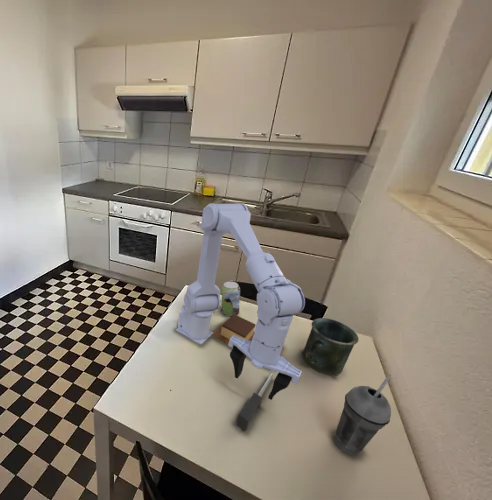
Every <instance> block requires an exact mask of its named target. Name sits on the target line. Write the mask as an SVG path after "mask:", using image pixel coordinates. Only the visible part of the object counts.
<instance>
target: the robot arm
mask: <svg viewBox="0 0 492 500" xmlns="http://www.w3.org/2000/svg"><path fill="white" fill-rule="evenodd" d="M251 215H252V213H251V212H250V211H249V208H248V206H247V205H246V204H245V203H244V202H243V203H242V202H239V203H214V202H213V203H212V202H211V203H208V204H207V205H206V206H205V207H204V208H203V209H202V217H201V224H200V230H201V231H203V233H202V241H201V249H200V255H199V262H198V263H199V264H198V270H197V277H196V280H195V281H194V282H192V283H191V284H189V285H188V286H187V288H186V292H185V294H184V297H183V306H182V307H181V309H180V311H179V315H178V323H177V328H175V330H176V331H177V332H179V333H181V334H182V335H184V336H185V337H187V338H188V339H190V340H192V341H194V342H195V343H197V344H199V345H202V344H203V343H205V342H206V340H208V339H209V338H210V337H212V336H211V335H212V334H213V333H214V331H212V330H211V329H210V327H211V322H212V317H213V314H215V312H216V311H217V310H219V309H220V307H221V305H222V298H221V289H220V287H219V286H218V285H217V284H216V278H217V273H218V266H219V261H220V253H221V247H222V241H223V236H224V235H226V234H229V235H231V236H232V237H233V239H234V241H235V242H236V243H237V245H238V246H239V248H240V250H241V251H242V253H243V254H244V256H245V257H246V262H245V264H244V267H245V269H246V271H247V273H248V275H249V277H250V279H251V280H252V283H253V284H254V287H255V289H256V290H257V294H256V304H257V311H256V314H257V315H256V316H257V320H256V325H255V329H254V335H253V338H252V341H248V340H245V339H242V338H239V337H236V336H234V335H233V336H232V337H231V338H230V340H229V344H228V345H227V346H228V347H229V348H231V351H230V352H229V358H230V359H231V361H232V366H233V370H234V378H235V379H239V377H241V375H242V372H243V369H244V365H245V361H246V358H248V359H249V360H250V361H251V365H252V366H253V367H254V368H257V369H258V370H261V369H267V370H271V371H274V372H277V375H276V376H275V377H274V380H273V384H272V388H271V390H270V392H269V394H268V397H267V399H268V400H270V401H272V400H273V399H274V397H275V395H277V394H278V393H279V392H281V391H283V390H286V389H287V388H288V387H289V385H290V384H291V382H292V383H294V384H295V385H298V382H299V380H300V378H301V375H302V373H303V371H302V370H300V369H298V368H297V367H296V366H294V365H292V364H291V362H289V361H288V360H287V359H285V357H283V356H281V353H282V350H283V347H284V344H285V342H286V338H287V336H288V333H289V329H290V327H291V323H292V321H293V318H294V315H296V314H299V313H302V311H304V308H305V305H306V300H305V295H304V293H303V291H302V288H301V287H300V286H299V285H297V284H296V283H294V282H292V281H291V280H290V279H288V278H286V276H285V275H284V273H283V272H282V270H281V268H280V267H279V265H278V263H277V262H276V260H275V258H274V256H273V255H272V254H271V253H269V252H265V251H263V249H262V247H261V245H260V242H259V241H258V237H256V234H255V232H254V229H253V227H252V225H251Z"/></svg>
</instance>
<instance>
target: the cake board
mask: <svg viewBox="0 0 492 500" xmlns="http://www.w3.org/2000/svg"><path fill="white" fill-rule="evenodd" d="M224 323H225V322H223V323H222V324H221V325H220V326H219V327H217V329H216V330H214V331H213V334H212V335H211V336H210V337H213V338H215V339H217V340H218V341H220V342H222V343H224V344H226V345H227V346H228V344H229V340H230V339H228V338H226V337H224V336H222V335H220V334H221V330H222V325H223V324H224ZM253 335H254V333H253ZM253 335H252V336H251V337H250V339H249V340H248V341H252V338H253Z"/></svg>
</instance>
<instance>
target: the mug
mask: <svg viewBox="0 0 492 500" xmlns="http://www.w3.org/2000/svg"><path fill="white" fill-rule="evenodd" d="M358 342H359V335H358V333H357V332H356V331H355V330H354V329H352V328H351V327H350V326H348V325H347V324H344V323H343V322H340V321H338V320H335V319H332V318H325V317H319V318H315V319H313V321H312V322H311V329H310V332H309V335H308V337H307V340H306V342H305V345H304V347H303V351H302V352H301V353H302V354H301V356H302V359H303V362H304V363H305V364H306V365H307V366H308V367H309V368H311V369H312V370H313V371H316V372H317V373H319V374H323V375H325V376H331V377H332V376H338V375H340V374H341V373H342V372H343V370H344V368H345V366H346V363H347V362H348V359H349V357H350V355H351V353H352V350H353V349H354V346H355V345H356V344H357V343H358Z"/></svg>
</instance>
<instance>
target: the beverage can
mask: <svg viewBox="0 0 492 500" xmlns="http://www.w3.org/2000/svg"><path fill="white" fill-rule="evenodd" d="M240 300H241V287H240V286H239V284H238V283H237V282H235V281H226V282H224V283H223V284H222V287H221V313H223V315H225V316H229V317H231V316H232V315H233V314H235V315H237V316H239V314H240V306H241V305H240V304H241V303H240V302H241V301H240Z"/></svg>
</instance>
